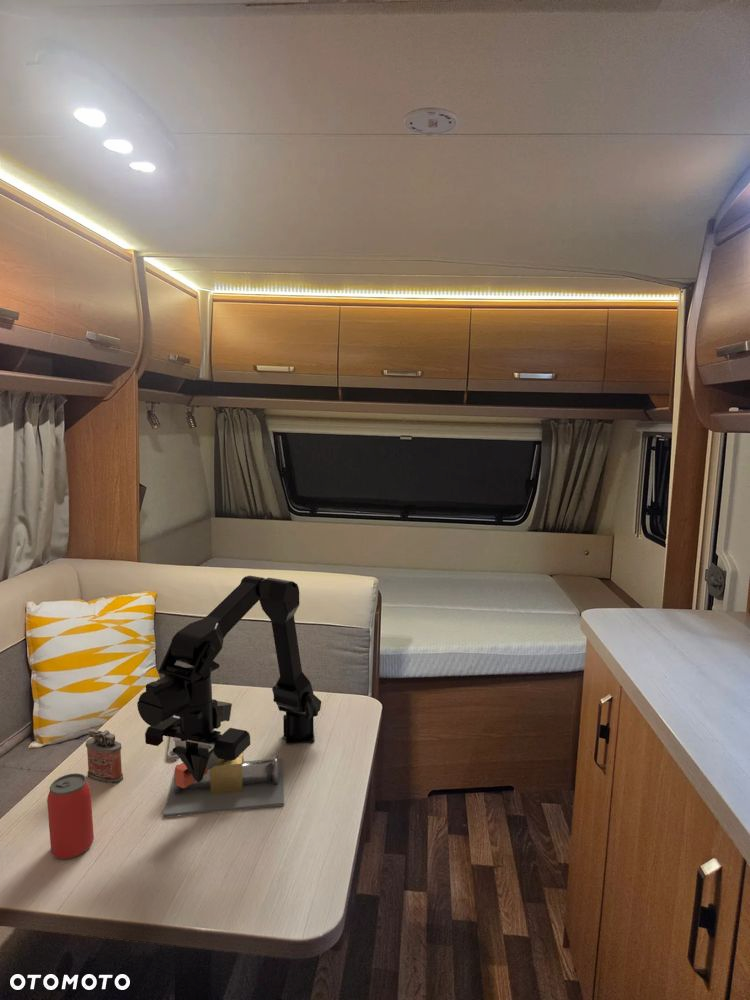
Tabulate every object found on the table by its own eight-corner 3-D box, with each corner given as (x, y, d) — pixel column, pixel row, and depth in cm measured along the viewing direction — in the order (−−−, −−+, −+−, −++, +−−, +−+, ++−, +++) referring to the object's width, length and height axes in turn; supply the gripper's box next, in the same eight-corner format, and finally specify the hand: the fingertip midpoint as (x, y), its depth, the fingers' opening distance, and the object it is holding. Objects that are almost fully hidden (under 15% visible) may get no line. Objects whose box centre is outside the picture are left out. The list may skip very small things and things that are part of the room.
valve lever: (228, 750, 119) (228, 734, 119) (236, 753, 118) (236, 737, 118) (175, 784, 108) (175, 767, 108) (184, 788, 107) (183, 771, 106)
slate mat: (282, 760, 128) (282, 758, 127) (283, 805, 113) (283, 802, 113) (176, 769, 124) (176, 767, 124) (163, 817, 109) (163, 814, 109)
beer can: (61, 834, 105) (56, 772, 103) (99, 832, 105) (95, 770, 103) (43, 862, 98) (38, 796, 96) (84, 860, 99) (80, 794, 97)
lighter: (127, 776, 121) (124, 731, 120) (115, 786, 118) (112, 739, 117) (96, 768, 124) (93, 724, 123) (83, 777, 121) (80, 732, 119)
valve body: (278, 773, 123) (277, 743, 122) (278, 791, 117) (278, 760, 116) (178, 782, 120) (177, 752, 119) (173, 801, 114) (172, 769, 113)
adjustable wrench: (180, 762, 128) (180, 754, 127) (149, 765, 126) (148, 757, 126) (194, 705, 152) (194, 699, 152) (168, 707, 151) (168, 701, 151)
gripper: (264, 687, 110) (266, 765, 112) (179, 674, 116) (183, 748, 118) (231, 715, 100) (235, 801, 102) (140, 700, 106) (145, 780, 108)
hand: (199, 780), depth 108 cm, fingers closed
